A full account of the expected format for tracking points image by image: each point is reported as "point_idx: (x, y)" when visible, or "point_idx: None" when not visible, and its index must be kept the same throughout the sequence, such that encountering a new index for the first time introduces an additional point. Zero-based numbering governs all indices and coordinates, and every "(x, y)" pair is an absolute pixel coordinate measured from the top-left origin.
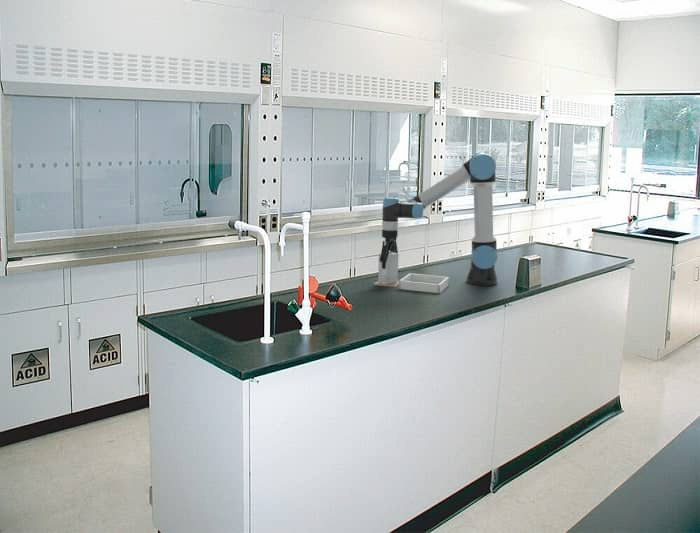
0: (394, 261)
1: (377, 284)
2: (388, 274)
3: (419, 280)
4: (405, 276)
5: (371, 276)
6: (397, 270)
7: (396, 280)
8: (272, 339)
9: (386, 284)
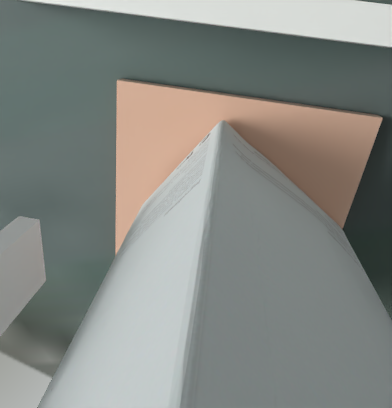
0: (319, 385)
1: None
2: (353, 270)
3: None
4: (198, 17)
5: (40, 344)
6: (226, 180)
7: (236, 139)
8: None
9: None
